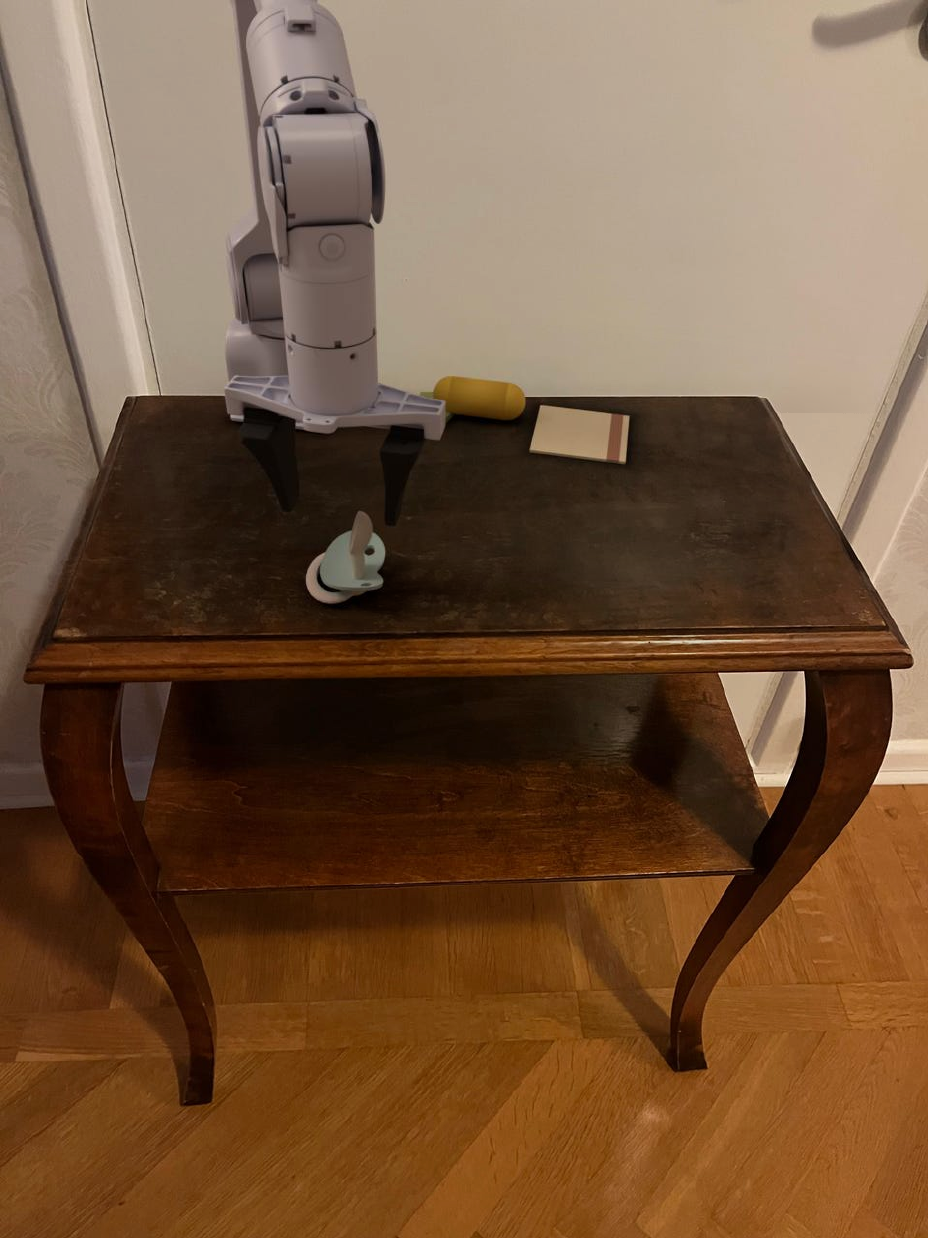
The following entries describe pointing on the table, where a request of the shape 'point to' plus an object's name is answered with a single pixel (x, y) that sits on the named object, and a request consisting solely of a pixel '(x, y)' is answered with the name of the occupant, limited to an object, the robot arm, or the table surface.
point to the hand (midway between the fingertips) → (341, 511)
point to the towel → (581, 434)
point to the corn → (478, 398)
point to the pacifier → (348, 564)
